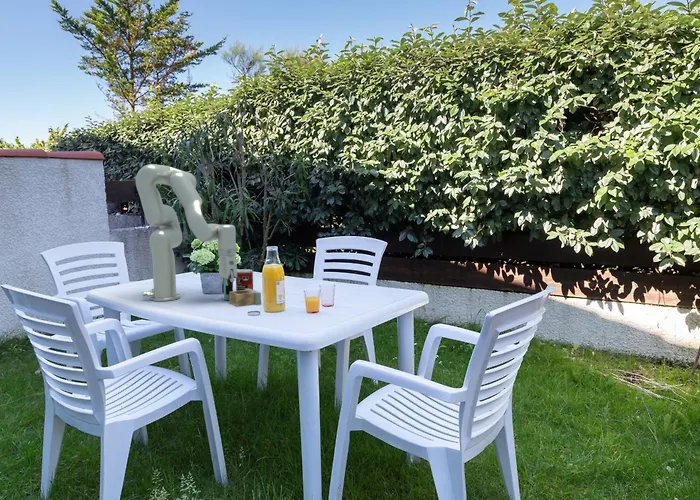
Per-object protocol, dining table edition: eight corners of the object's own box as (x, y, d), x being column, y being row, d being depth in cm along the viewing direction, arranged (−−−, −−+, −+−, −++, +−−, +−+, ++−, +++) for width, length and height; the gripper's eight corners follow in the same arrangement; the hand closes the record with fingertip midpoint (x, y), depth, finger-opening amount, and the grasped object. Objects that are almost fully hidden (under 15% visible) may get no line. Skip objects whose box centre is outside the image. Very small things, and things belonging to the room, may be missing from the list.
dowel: (225, 300, 216) (225, 277, 215) (222, 298, 218) (222, 276, 217) (232, 299, 218) (232, 277, 216) (229, 298, 220) (229, 276, 219)
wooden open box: (237, 306, 206) (236, 294, 205) (229, 303, 212) (229, 291, 211) (254, 304, 210) (254, 292, 210) (246, 300, 217) (246, 289, 216)
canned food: (232, 294, 231) (232, 271, 230) (244, 291, 238) (243, 268, 237) (245, 295, 228) (245, 272, 226) (256, 292, 235) (255, 269, 233)
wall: (256, 304, 209) (256, 293, 208) (245, 299, 218) (244, 288, 218) (260, 304, 210) (260, 292, 209) (249, 299, 219) (249, 288, 219)
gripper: (242, 254, 211) (243, 296, 213) (228, 250, 224) (228, 289, 226) (225, 255, 207) (226, 297, 209) (212, 251, 220) (212, 291, 222)
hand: (227, 293), depth 218 cm, fingers closed on dowel, 3 cm apart
